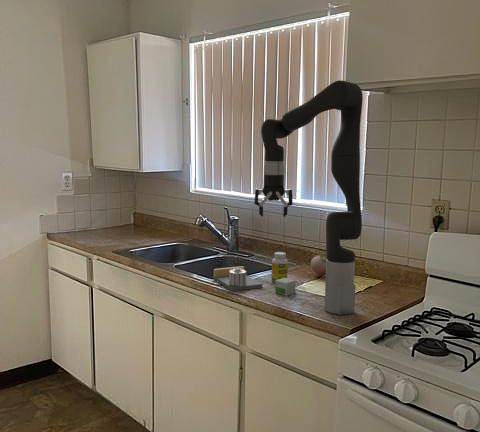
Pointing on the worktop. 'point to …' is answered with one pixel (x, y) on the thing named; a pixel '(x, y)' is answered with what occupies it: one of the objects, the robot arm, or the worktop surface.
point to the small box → (285, 286)
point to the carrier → (223, 278)
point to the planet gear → (237, 278)
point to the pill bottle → (279, 266)
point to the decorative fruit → (319, 264)
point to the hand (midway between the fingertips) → (273, 216)
